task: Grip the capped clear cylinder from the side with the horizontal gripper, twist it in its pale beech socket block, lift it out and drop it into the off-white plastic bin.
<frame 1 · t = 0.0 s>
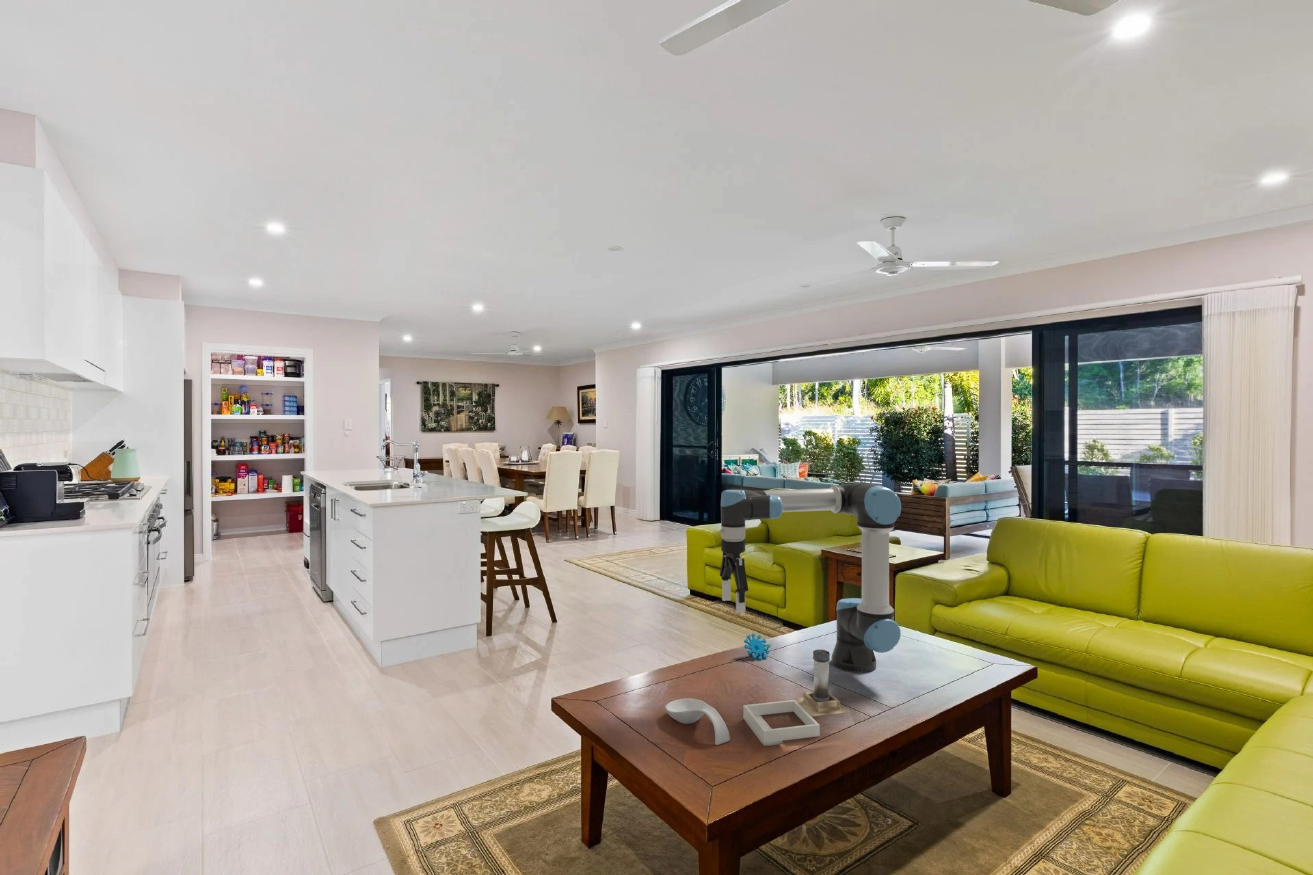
hand: (733, 606, 202), 28 cm above the table, tool pointing down, fingers open, 13 cm apart
socket block: (821, 708, 193), on the table
capped clear cylinder: (821, 705, 193), point 1 cm above the table, touching socket block
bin: (780, 728, 180), on the table
spoon rest: (698, 727, 182), on the table
gear: (758, 657, 235), on the table
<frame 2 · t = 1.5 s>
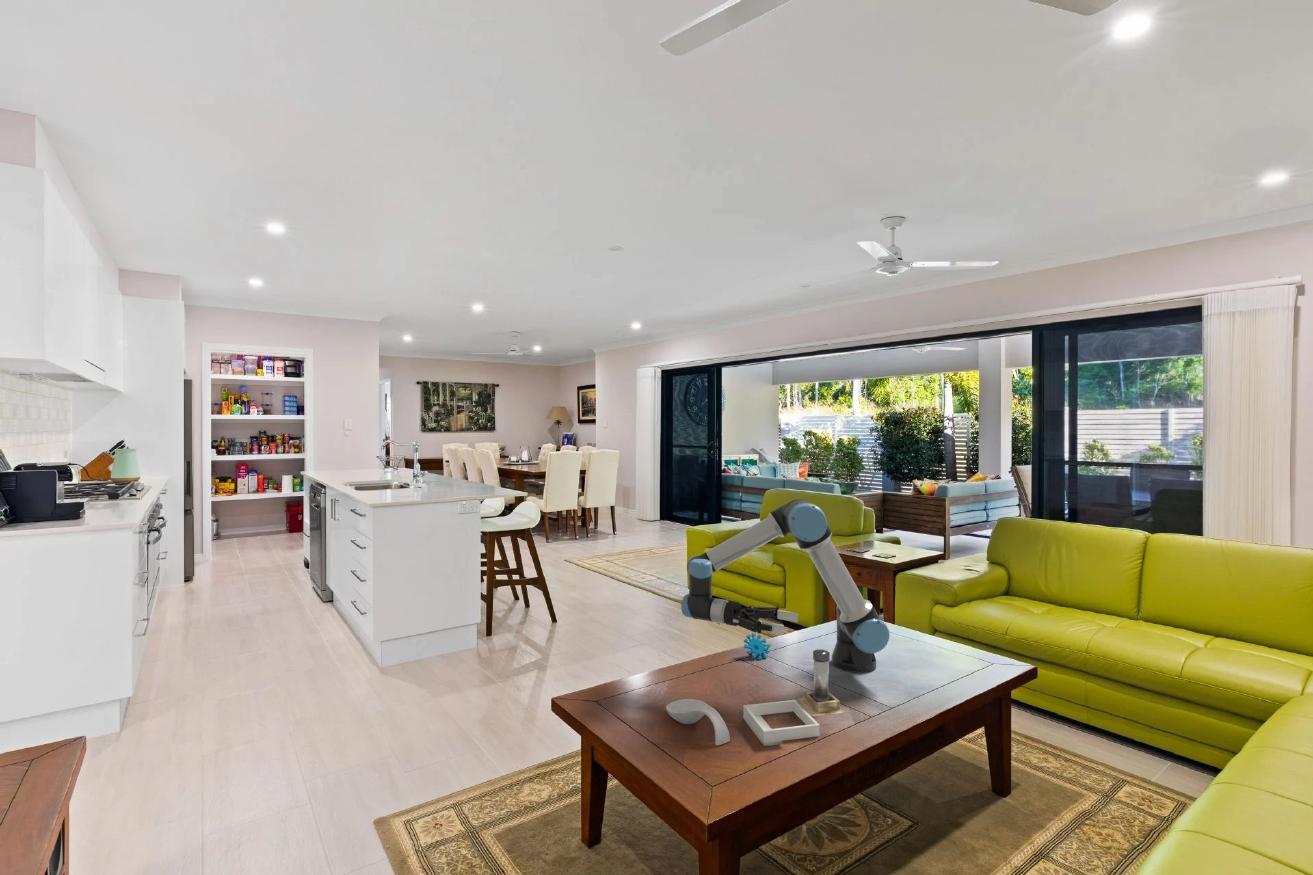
hand: (790, 623, 197), 24 cm above the table, tool horizontal, fingers open, 13 cm apart
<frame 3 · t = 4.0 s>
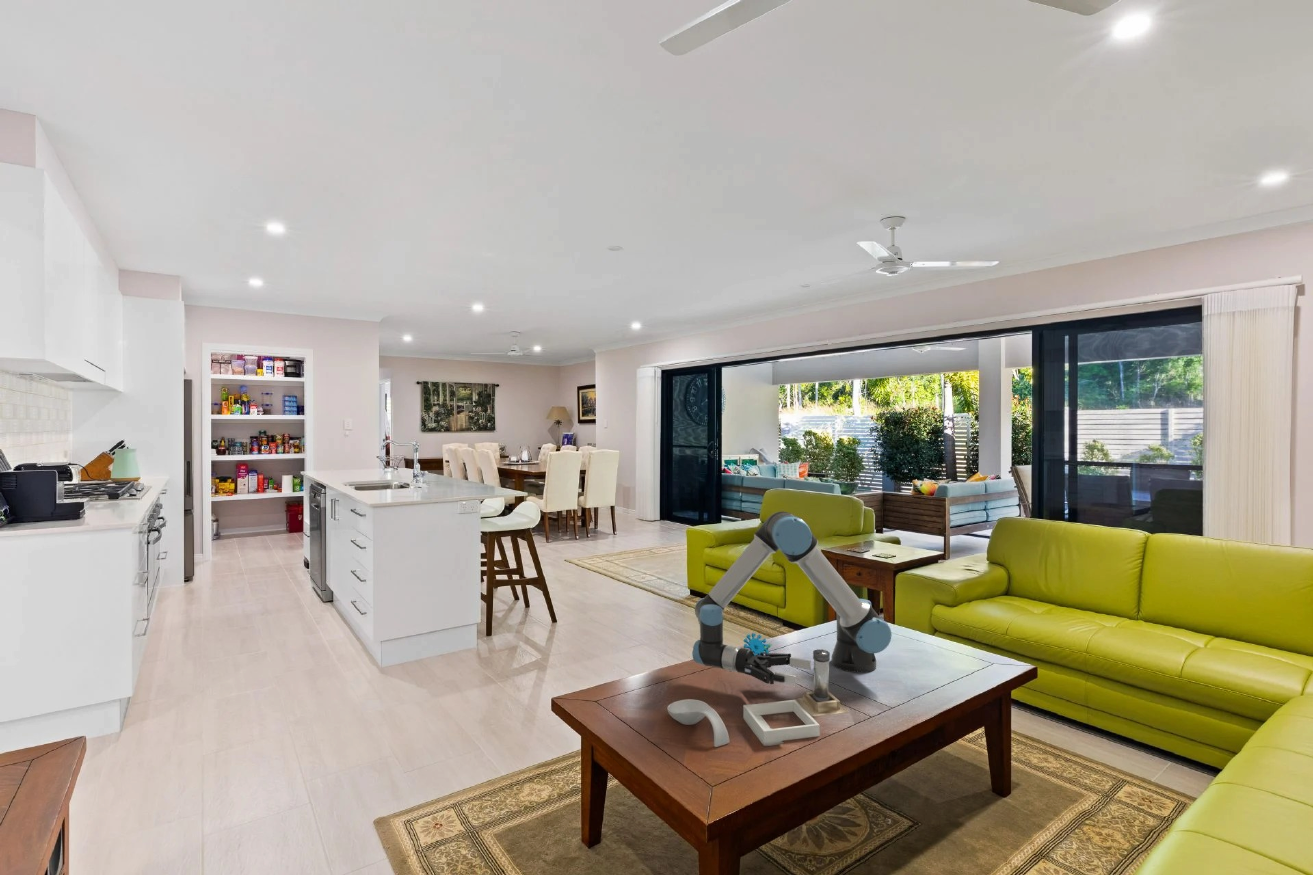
hand: (803, 672, 195), 10 cm above the table, tool horizontal, fingers open, 13 cm apart
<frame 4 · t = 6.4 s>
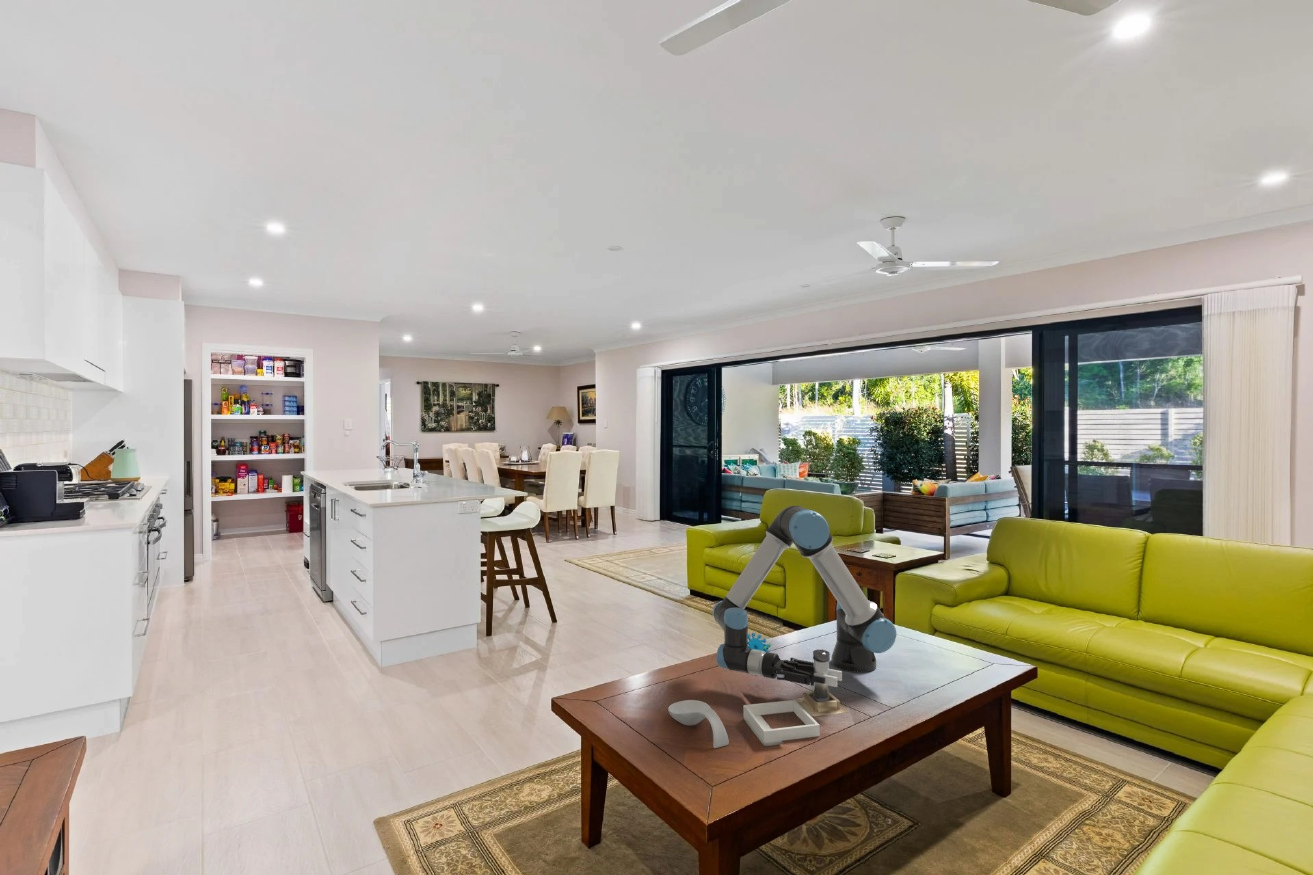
hand: (839, 679, 190), 10 cm above the table, tool horizontal, fingers closed on capped clear cylinder, 4 cm apart
capped clear cylinder: (821, 705, 193), point 1 cm above the table, touching gripper, socket block
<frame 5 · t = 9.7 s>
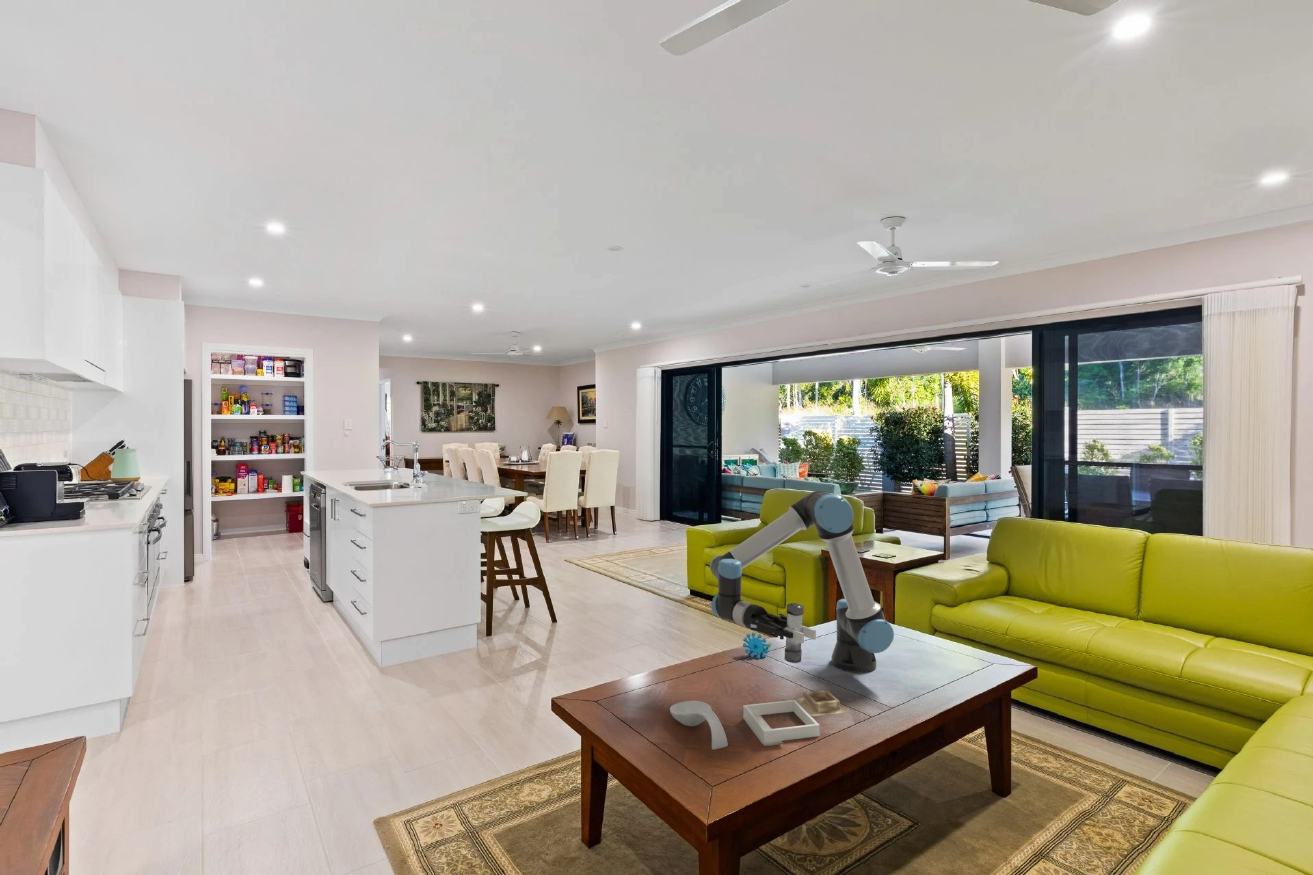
hand: (808, 636, 182), 25 cm above the table, tool horizontal, fingers closed on capped clear cylinder, 4 cm apart
capped clear cylinder: (792, 659, 187), point 17 cm above the table, touching gripper
when the fingers open (12 cm above the table, at t = 12.9 s): capped clear cylinder drops 3 cm, resting on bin.
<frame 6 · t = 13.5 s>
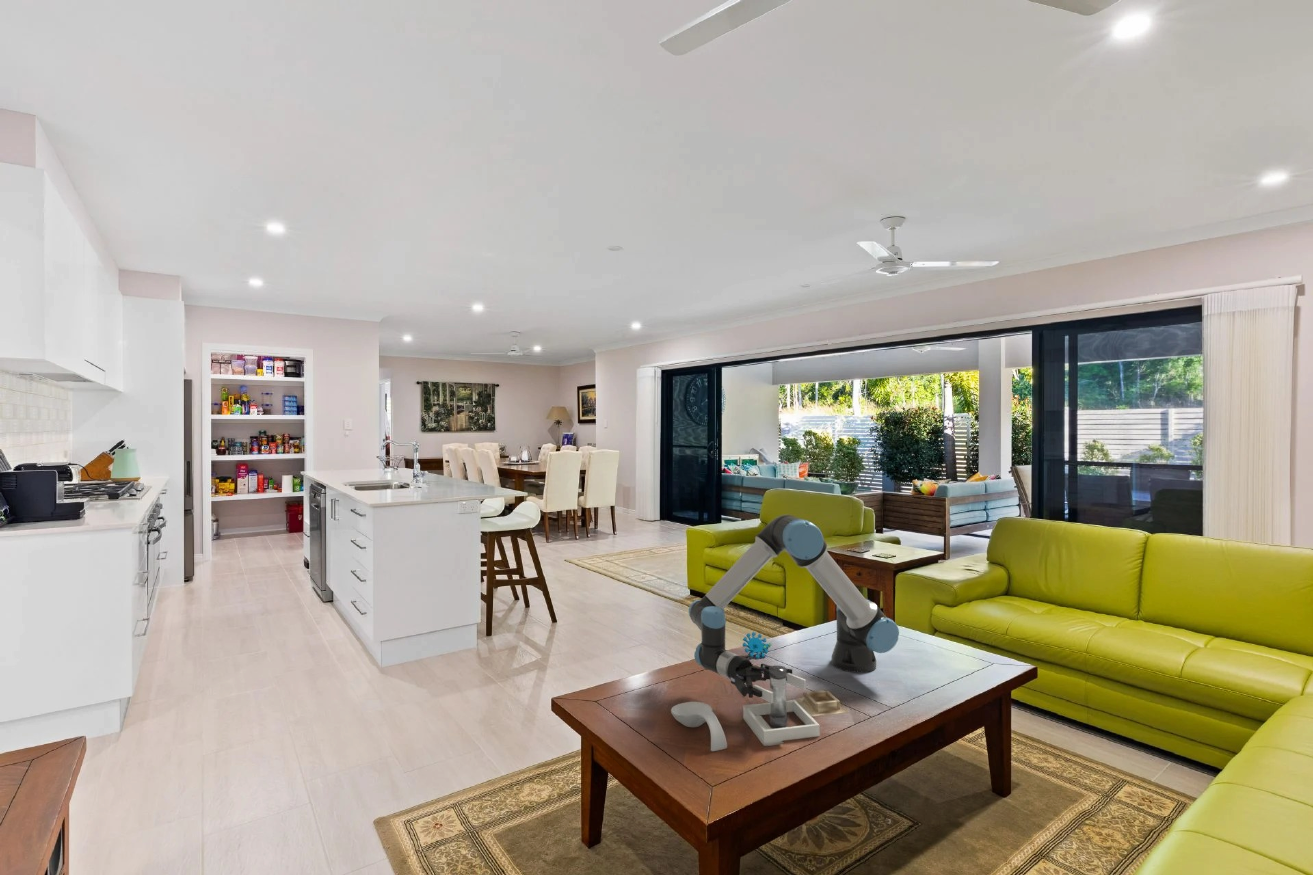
hand: (789, 691, 177), 12 cm above the table, tool horizontal, fingers open, 13 cm apart
capped clear cylinder: (778, 724, 181), point 1 cm above the table, touching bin
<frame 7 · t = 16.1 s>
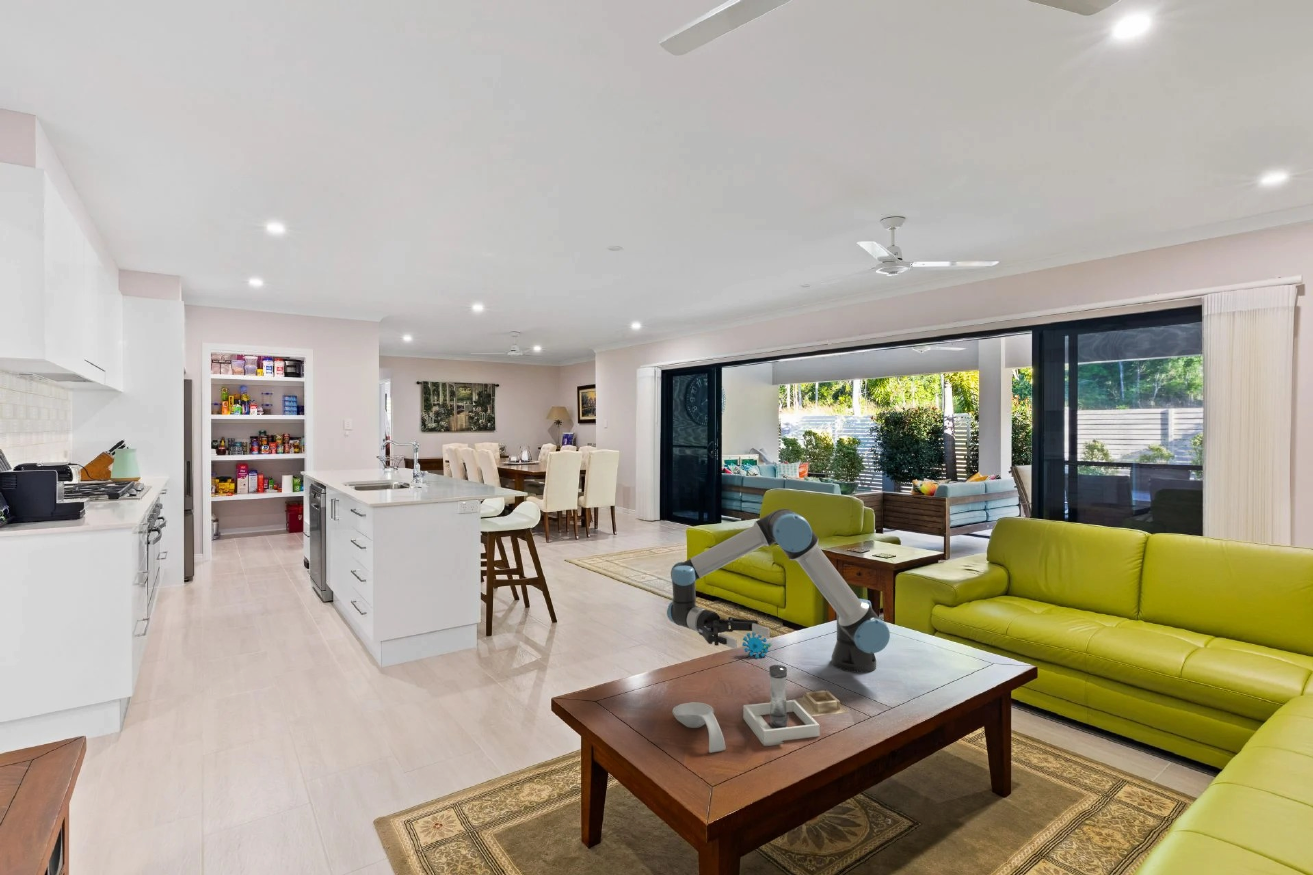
hand: (752, 638, 187), 23 cm above the table, tool horizontal, fingers open, 13 cm apart
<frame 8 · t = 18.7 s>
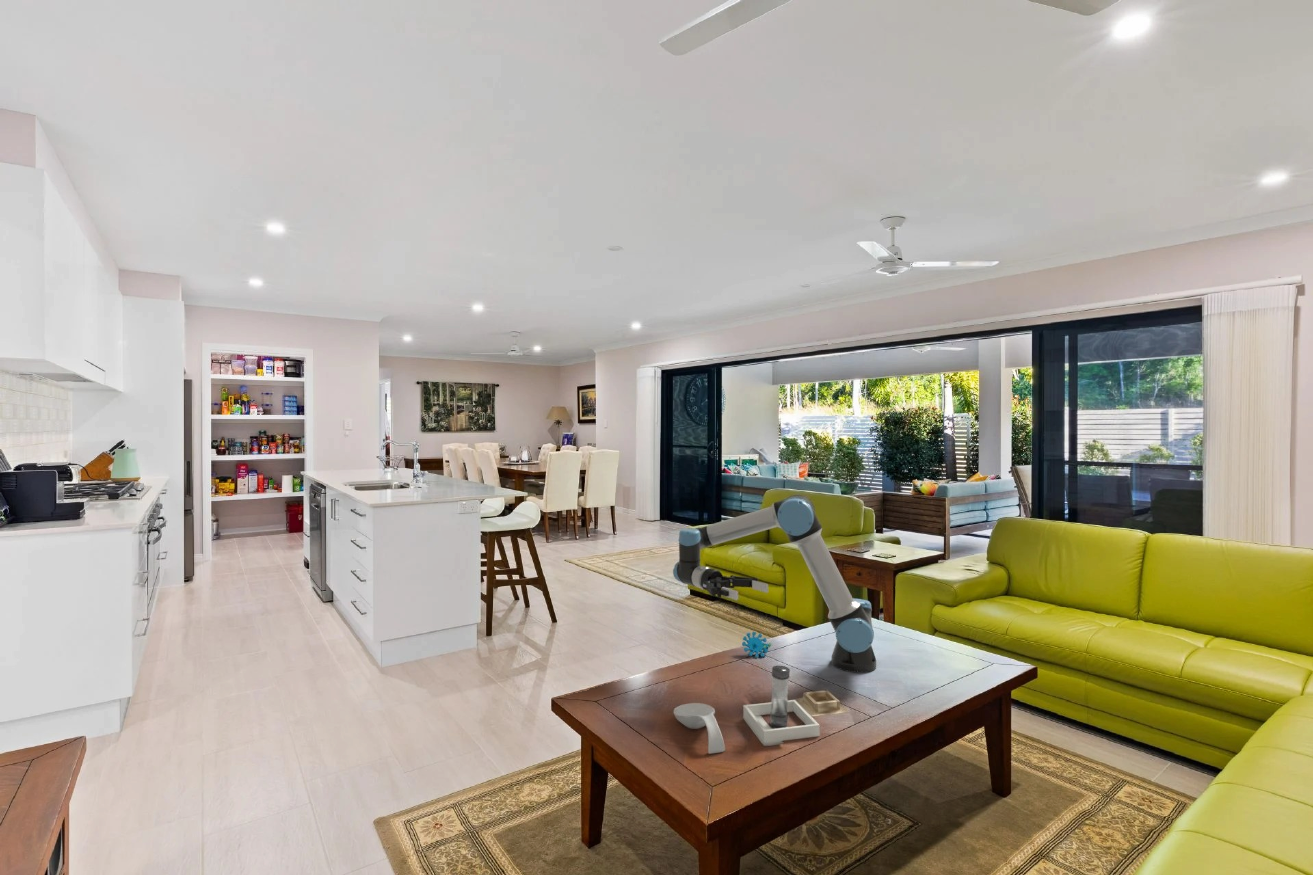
hand: (752, 592, 204), 32 cm above the table, tool horizontal, fingers open, 13 cm apart
at the end: capped clear cylinder inside the target area on the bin (0.7 cm from its centre), point 0.9 cm above the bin's base; the gripper is holding nothing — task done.
